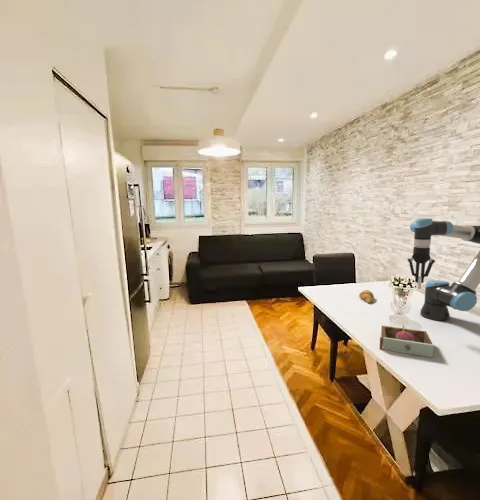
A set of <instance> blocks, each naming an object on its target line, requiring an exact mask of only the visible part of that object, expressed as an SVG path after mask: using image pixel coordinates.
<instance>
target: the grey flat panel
mask: <svg viewBox="0 0 480 500" xmlns="http://www.w3.org/2000/svg"><path fill="white" fill-rule="evenodd" d="M382 350H385V351H389V352H390V351H391V352H396V353H404V354H409V355H415V356H416V355H417V356H421V357H426V358H427V357H428V358H433V357H434V356H433V355H434V344H433V343H432V344H427V343H421V342H414V341H407V340H400V339H394V338H387V337H384V342H383V349H382Z"/></svg>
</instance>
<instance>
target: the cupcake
mask: <svg viewBox="0 0 480 500" xmlns="http://www.w3.org/2000/svg"><path fill="white" fill-rule="evenodd" d="M402 328H403V331H399V332H397V333H396V339H400V340H407V341H415V337H414V335H412V334H411V333H409V332H407V331H404V329H405V325H404V323H402Z"/></svg>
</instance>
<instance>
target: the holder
mask: <svg viewBox="0 0 480 500" xmlns="http://www.w3.org/2000/svg"><path fill="white" fill-rule="evenodd" d="M399 331H403V327H398V326H397V327H396V326H395V327H394V326H387V325H381V331H380V337H379V350H384V349H383V342H384V337H386V338H393V339H396V333H397V332H399ZM404 331H407V332H409V333H411V334H412V335H414V337H415V341H414V342H421V343H427V344H433V342H432V341H431V338H430V335H429V334H428V332H427V331H425V330H419V329H412V328H411V329H410V328H404Z"/></svg>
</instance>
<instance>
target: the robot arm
mask: <svg viewBox="0 0 480 500" xmlns="http://www.w3.org/2000/svg"><path fill="white" fill-rule="evenodd" d="M409 230H410V231H411V232H412V233H414V238H413V239H414V240H413V246H414V247H413V251H412V253H413V254H412V256H411V257H407V261H408V263H409V269H410V273H411V275H412V276H414V282H415V283H416V289H418V290H421V289H422V284H423V283H424V281H425V280H424V279H425V278H426V277H429V274H430V272H431V270H432V266H433V265H434V264H435V263H436V259H433V258H431V255H430V253H431V240H432V236H440V237H449V238H455V239H461V240H463V241H465V242H470V243H474V244H478V245H480V225H470V224H467V225H457V224H453V223H452V222H451V221H446V220H445V221H444V220H441V221H439V220H438V221H437V220H436V221H435V220H433V219H432V218H425V217H423V218H417V219H416V220H412V222H411V223H410V225H409ZM413 260H414V262H415V269H414V265H413ZM427 262H428V265H427V268H426V264H427ZM420 265H421V267H420ZM419 275H420V276H419ZM479 285H480V250H479V251H478V252H477V254H476V255H475V256H474V258H473V259H472V260H471V262H470V264H469V265H468V267H467V268H466V269H465V271H464V272H463V273H462V275H461V276H460V278H459V279H458V281H453V282H452V284H451V285H450V282H449V281H446V280H439V279H437V280H435V279H434V280H427V281H426V282H425V286H424V289H425V291H424V302H423V304H422V307H421V308H420V313H419V314H420V316H422V317H423V318H426V319H428V320H432V321H438V322H439V321H440V322H444V321H445V322H446V321H449V320H450V318H451V315H450V311H449V308H452V309H453V310H457V311H460V312H466V311H470V310H472V309H473V308H474V307H475V306H476V305H477V302H478V301H477V300H478V298H477V290H476V289H477V287H479ZM448 307H449V308H448Z"/></svg>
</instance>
